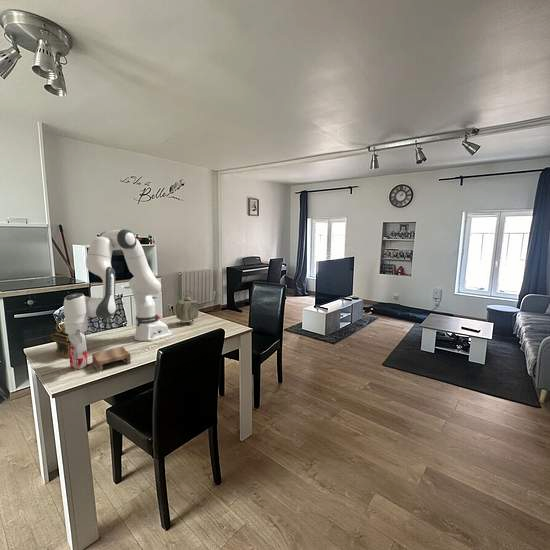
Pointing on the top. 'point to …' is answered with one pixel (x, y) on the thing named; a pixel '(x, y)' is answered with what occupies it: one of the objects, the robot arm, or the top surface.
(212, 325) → the top surface
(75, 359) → the soda can
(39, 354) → the top surface
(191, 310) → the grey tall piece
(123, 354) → the walnut shelf
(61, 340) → the decorative box
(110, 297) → the robot arm
